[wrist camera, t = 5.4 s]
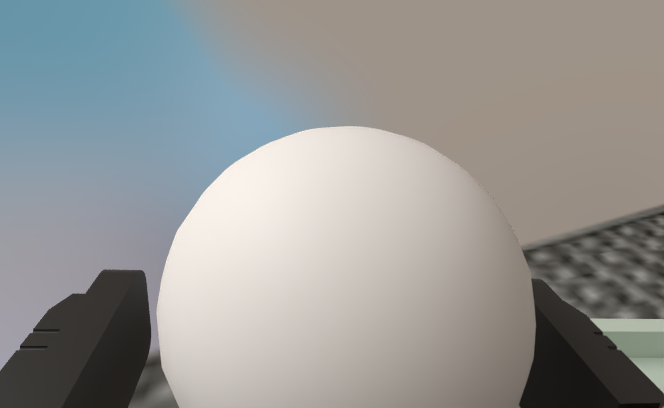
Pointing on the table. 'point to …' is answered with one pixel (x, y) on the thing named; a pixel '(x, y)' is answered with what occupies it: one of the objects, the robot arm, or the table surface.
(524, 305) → the lightbulb
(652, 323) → the parts tray
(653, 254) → the table surface
